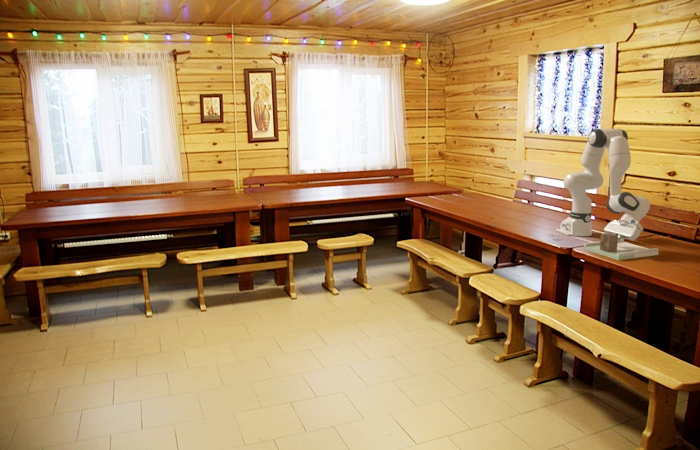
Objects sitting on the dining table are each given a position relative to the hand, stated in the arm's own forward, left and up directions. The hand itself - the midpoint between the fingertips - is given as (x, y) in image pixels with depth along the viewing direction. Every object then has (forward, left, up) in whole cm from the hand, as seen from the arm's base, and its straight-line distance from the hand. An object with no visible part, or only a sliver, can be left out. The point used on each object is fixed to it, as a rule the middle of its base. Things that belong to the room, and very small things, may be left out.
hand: (612, 241), depth 316 cm
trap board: (0, +6, -6) cm, 9 cm away
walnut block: (+1, -4, -4) cm, 6 cm away
